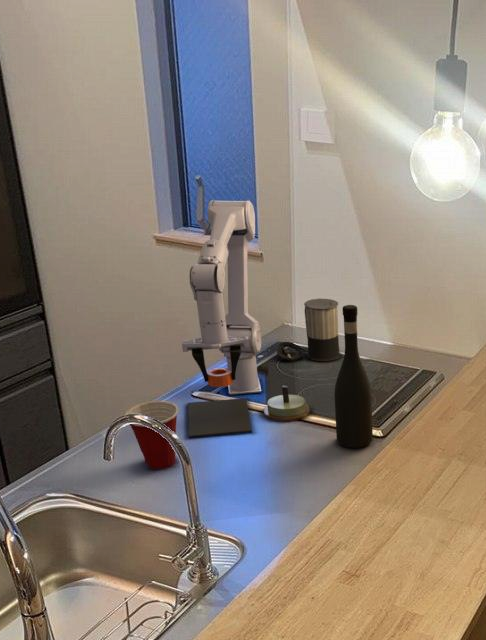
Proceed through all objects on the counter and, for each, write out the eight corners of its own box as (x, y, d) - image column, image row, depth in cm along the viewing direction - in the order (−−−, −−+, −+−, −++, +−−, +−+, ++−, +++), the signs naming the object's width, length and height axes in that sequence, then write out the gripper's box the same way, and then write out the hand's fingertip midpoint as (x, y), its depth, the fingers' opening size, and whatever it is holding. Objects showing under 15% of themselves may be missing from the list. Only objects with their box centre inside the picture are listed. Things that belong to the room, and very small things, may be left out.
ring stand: (262, 405, 208) (259, 379, 204) (307, 402, 210) (305, 376, 206) (265, 423, 199) (263, 396, 195) (313, 419, 201) (311, 392, 197)
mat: (188, 405, 208) (188, 402, 208) (246, 400, 211) (246, 398, 210) (189, 438, 192) (188, 435, 191) (252, 432, 194) (251, 430, 194)
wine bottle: (333, 436, 192) (326, 302, 176) (367, 432, 194) (363, 299, 178) (341, 451, 186) (335, 313, 170) (376, 446, 188) (373, 310, 172)
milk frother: (347, 356, 238) (345, 302, 230) (304, 370, 228) (300, 315, 220) (314, 345, 246) (310, 292, 238) (270, 358, 236) (265, 304, 228)
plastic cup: (123, 470, 178) (112, 416, 172) (154, 449, 187) (145, 397, 180) (166, 479, 175) (157, 424, 168) (196, 457, 183) (189, 405, 177)
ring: (207, 379, 198) (206, 368, 197) (232, 377, 199) (230, 366, 198) (208, 388, 194) (207, 377, 192) (233, 386, 195) (232, 375, 193)
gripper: (178, 327, 184) (187, 388, 192) (246, 323, 187) (252, 383, 194) (178, 318, 190) (187, 377, 197) (244, 314, 193) (250, 372, 200)
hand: (219, 379), depth 196 cm, fingers closed on ring, 5 cm apart
